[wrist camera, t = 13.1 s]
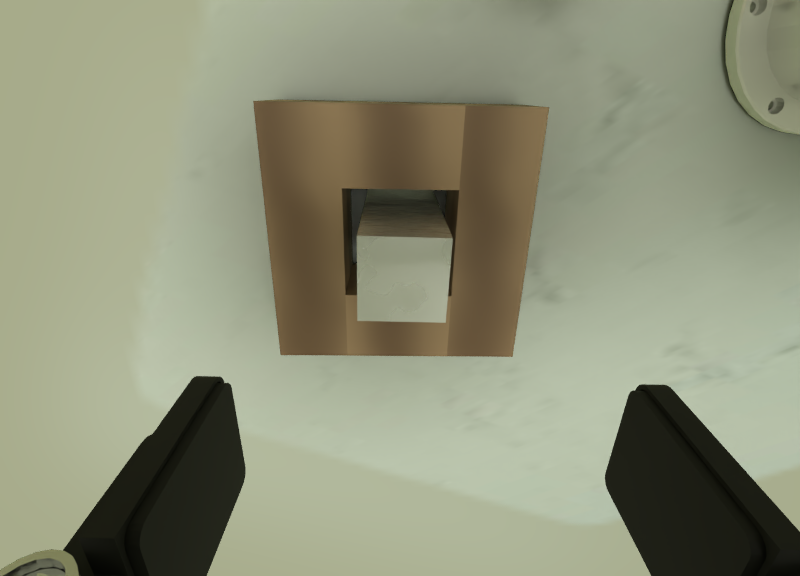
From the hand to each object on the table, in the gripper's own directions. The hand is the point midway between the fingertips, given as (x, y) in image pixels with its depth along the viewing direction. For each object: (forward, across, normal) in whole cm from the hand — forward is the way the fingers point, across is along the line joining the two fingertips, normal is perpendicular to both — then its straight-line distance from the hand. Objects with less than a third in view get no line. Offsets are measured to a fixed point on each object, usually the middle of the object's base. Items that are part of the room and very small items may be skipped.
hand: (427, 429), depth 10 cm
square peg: (+19, +1, 0) cm, 19 cm away
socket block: (+19, +1, 0) cm, 19 cm away
